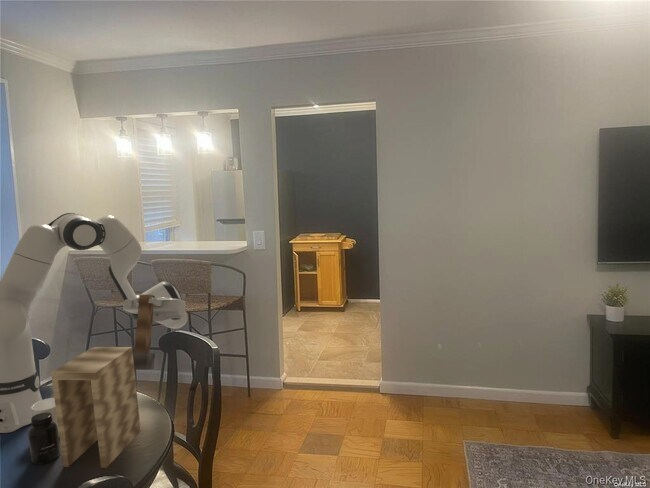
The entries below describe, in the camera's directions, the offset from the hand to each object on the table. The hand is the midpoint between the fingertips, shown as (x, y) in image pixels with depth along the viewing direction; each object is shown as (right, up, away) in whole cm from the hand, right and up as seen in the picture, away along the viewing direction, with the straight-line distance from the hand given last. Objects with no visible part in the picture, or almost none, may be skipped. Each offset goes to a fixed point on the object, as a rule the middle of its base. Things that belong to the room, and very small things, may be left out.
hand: (143, 300), depth 155 cm
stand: (-2, -38, -24) cm, 45 cm away
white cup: (-21, -38, -16) cm, 47 cm away
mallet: (0, -11, +1) cm, 11 cm away
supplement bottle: (-16, -40, -27) cm, 51 cm away
